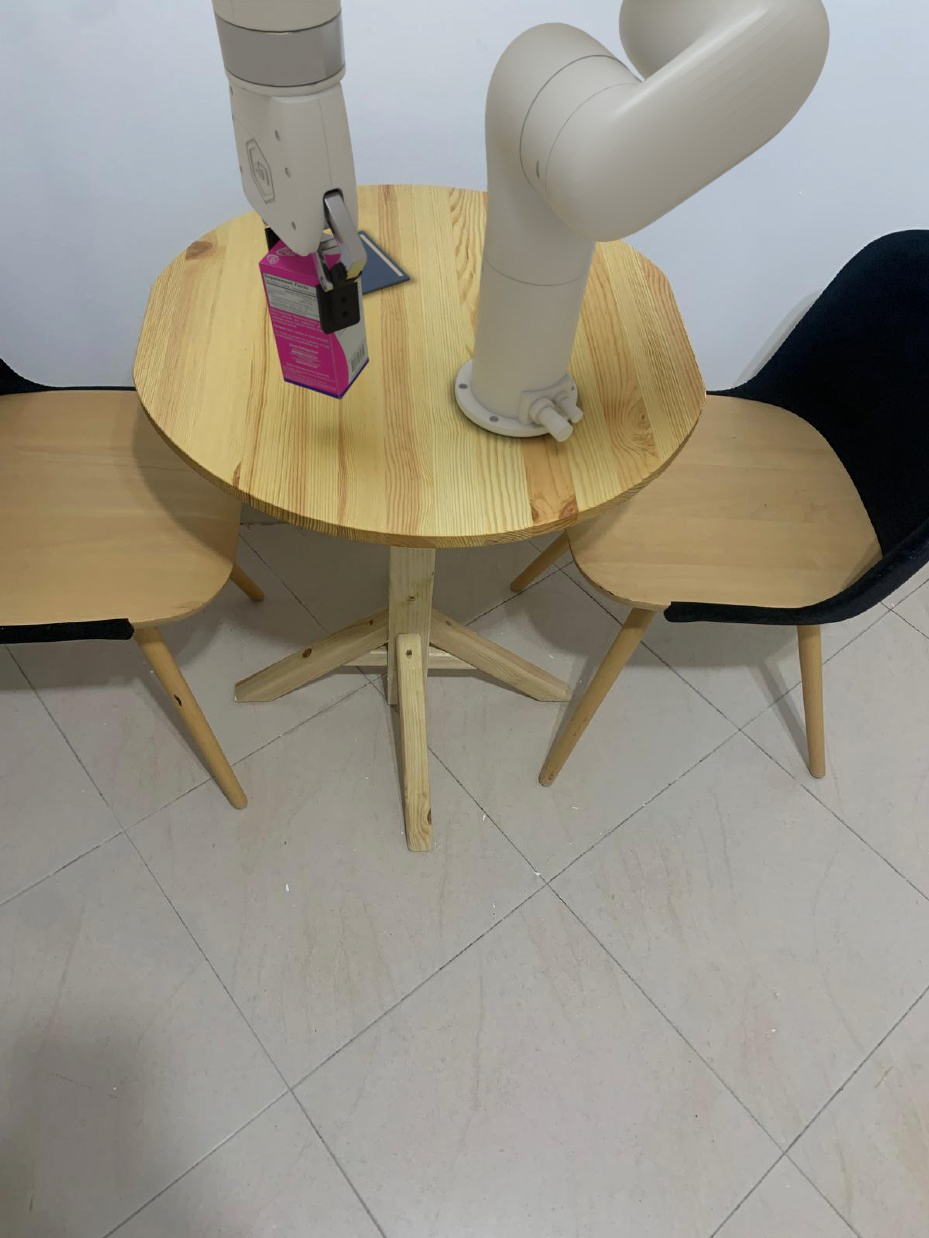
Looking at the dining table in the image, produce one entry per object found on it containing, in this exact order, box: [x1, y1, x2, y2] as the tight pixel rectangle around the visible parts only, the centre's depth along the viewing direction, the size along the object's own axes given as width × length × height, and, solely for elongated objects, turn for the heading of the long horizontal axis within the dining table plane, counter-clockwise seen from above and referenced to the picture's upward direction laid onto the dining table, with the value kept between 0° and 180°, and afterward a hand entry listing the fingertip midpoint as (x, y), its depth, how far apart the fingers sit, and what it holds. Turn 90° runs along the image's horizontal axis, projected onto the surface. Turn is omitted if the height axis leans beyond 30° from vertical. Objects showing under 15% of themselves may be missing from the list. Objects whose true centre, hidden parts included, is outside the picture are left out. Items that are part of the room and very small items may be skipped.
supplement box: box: [258, 232, 370, 400], centre depth 63 cm, size 6×6×12 cm
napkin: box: [358, 230, 411, 296], centre depth 90 cm, size 11×10×1 cm
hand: (315, 297), depth 62 cm, fingers closed on supplement box, 7 cm apart
